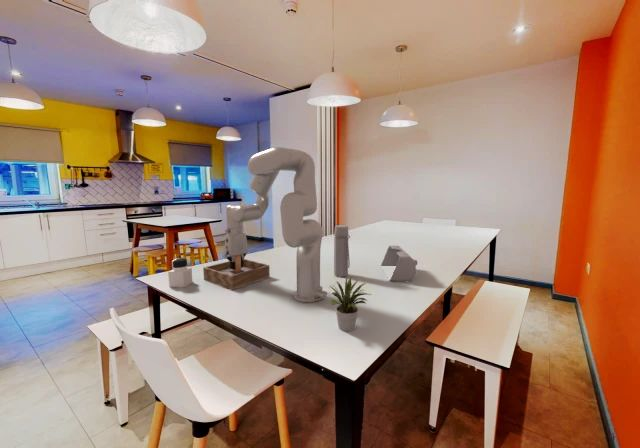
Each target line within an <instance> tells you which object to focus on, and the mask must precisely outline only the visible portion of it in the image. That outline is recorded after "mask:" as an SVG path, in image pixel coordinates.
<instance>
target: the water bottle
mask: <svg viewBox="0 0 640 448" xmlns="http://www.w3.org/2000/svg"><path fill="white" fill-rule="evenodd" d="M333 236H334V238H333V241H334V242H333V252H334V253H333V270H334V271H333V275H334V276H335V277H339V278H344V277H348V275H349V268H350V248H349V239H350V238H351V236H350V235H349V227H348V225H344V224H342V225H341V224H339V225H337V224H336V225H335V226H334V232H333Z"/></svg>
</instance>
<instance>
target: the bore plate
mask: <svg viewBox="0 0 640 448" xmlns="http://www.w3.org/2000/svg"><path fill="white" fill-rule="evenodd" d="M249 270H252V269H250V268H247V267H243V268H241V272H240V273H242V272H246V271H249ZM219 272H222V273H225V274H228V275H231V276H232V275H235V274H234V273H233V270H232V269H230V268H229V269H226V270H222V271H219ZM237 274H239V273H237Z"/></svg>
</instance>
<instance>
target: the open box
mask: <svg viewBox="0 0 640 448" xmlns="http://www.w3.org/2000/svg"><path fill="white" fill-rule="evenodd" d="M243 267H247V268H250V269H252V270H249V271H246V272H242V273H239V274H235V275H232V276H231V275H228V274H225V273H222V272H219V271H222V270H226V269H229V268H230V261H229V260H228V261H225V262H221V263H220V262H219V263H216V264H212V265H208V266H203V269H202V270H203V271H202V272H203V280H204V281H206V282H210V283H212V284H214V285H217V286H220V287H223V288H225V289H228V290H230V291H233V290H235V289H238V288H242V287H245V286H247V285H250V284H251V285H252V284H253V283H257V282H260V281H262V280H265V279H268V278H270V265H269V264H266V263H261V262H258V261H255V260H251V259H247V258H244V259H243Z"/></svg>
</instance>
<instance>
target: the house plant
mask: <svg viewBox="0 0 640 448" xmlns="http://www.w3.org/2000/svg"><path fill="white" fill-rule="evenodd" d="M358 281H359V279H358V280H356V281H355V282H354V283H352V277H350V278H349V279H348V277H346V278H345V283H344V288H343V287H342V285H341V283H340V282H338V281H336V283H335V282H334V284H336V285H337V286H338V288H339V289H337V288H336V287H335V285H333V284H332V285H329V288H330V289H332V290H333V291H334V292H332V293H331V294H332V295H333V296H335V298H337V299H338V300H339V301H337V300H334V299H332V300H331V302H330V304H331V306H334V305H337V306H336V308H335V312H336V313H335V314H336V320H337V324H338V325H337V326H338V329H339V330H340V331H342V332H352V331H354V330H355V329H354V328H356V324H357V323H356V322H357V318H358V313H359V309H358V307H357V306H356V305H357V304H366V305H367V303H366V302H368V299H366V298H364V297H360V296H364V295H369V296H370V295H372V293H367V292H365V291H363V289H361V288H362V287H363V286H364V285H366V284H367V282H366V283H365V282H364V283H362V284H360V285H359V286H358V287H356V288H355V290H354V291H353V289H354V287H355V286H356V284H357V283H358ZM339 290H340V291H339Z"/></svg>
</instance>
